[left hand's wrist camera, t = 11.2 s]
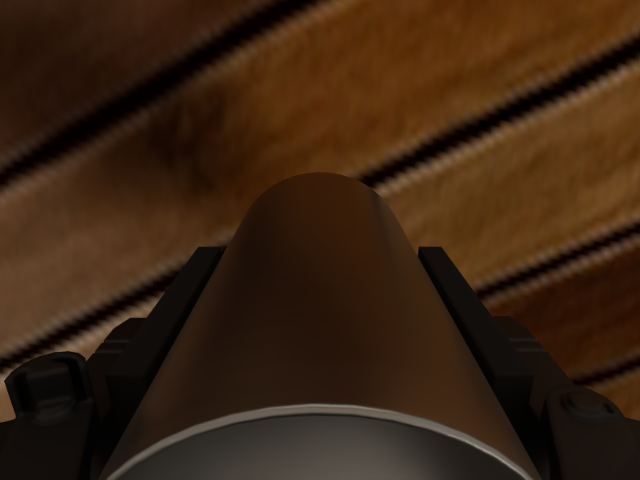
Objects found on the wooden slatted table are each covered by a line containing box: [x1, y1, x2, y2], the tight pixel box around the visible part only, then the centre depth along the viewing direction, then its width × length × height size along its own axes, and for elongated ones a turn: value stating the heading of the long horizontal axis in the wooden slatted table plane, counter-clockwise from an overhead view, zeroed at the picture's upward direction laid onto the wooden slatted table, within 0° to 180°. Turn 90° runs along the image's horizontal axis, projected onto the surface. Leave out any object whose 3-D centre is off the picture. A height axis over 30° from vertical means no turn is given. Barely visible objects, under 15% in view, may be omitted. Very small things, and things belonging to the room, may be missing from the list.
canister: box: [98, 172, 542, 480], centre depth 11 cm, size 7×7×12 cm
